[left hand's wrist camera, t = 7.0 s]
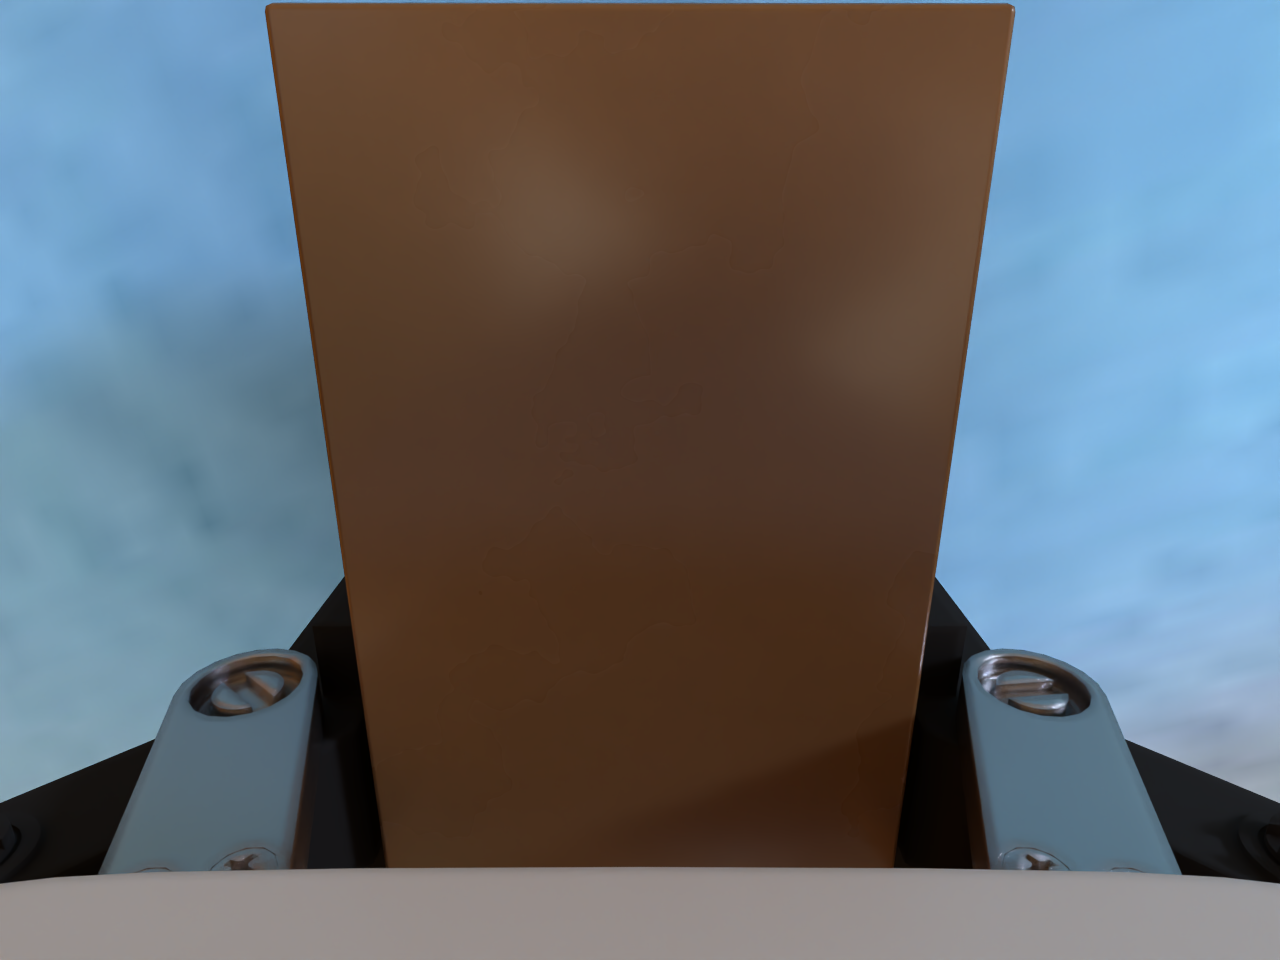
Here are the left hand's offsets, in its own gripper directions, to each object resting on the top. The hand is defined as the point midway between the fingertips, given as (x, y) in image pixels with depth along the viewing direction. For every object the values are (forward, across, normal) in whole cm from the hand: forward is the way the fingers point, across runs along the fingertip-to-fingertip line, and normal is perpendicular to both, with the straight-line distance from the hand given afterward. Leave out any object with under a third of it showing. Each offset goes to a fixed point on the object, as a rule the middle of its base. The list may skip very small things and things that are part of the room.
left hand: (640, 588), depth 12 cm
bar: (+2, 0, -18) cm, 18 cm away
